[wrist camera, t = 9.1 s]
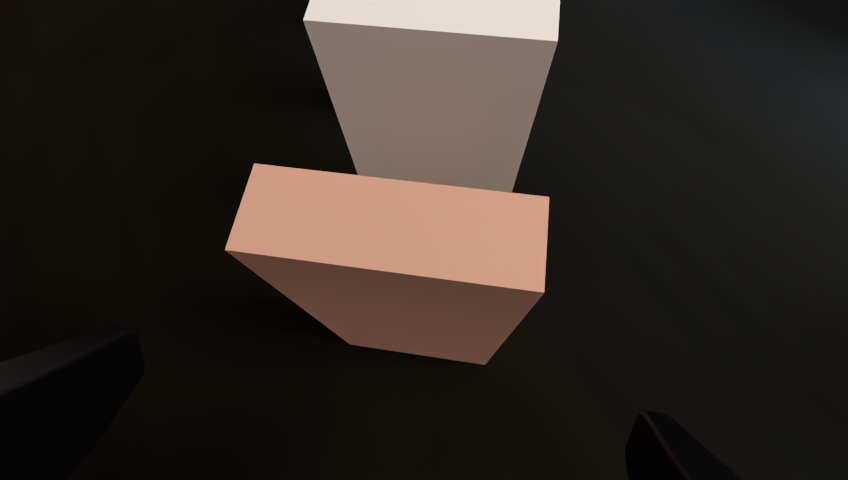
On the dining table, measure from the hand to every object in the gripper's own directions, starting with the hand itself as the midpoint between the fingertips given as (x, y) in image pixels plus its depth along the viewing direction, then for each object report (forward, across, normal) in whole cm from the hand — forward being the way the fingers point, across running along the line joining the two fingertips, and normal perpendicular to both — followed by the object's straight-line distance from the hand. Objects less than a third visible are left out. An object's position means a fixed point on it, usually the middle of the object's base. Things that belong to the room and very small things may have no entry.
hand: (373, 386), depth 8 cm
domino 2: (+8, 0, +4) cm, 9 cm away
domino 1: (+11, 0, 0) cm, 11 cm away
